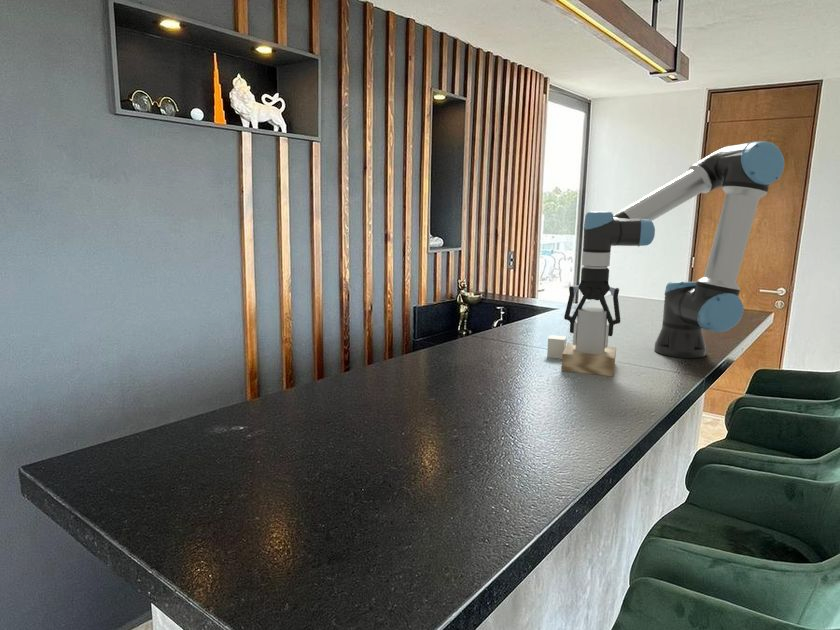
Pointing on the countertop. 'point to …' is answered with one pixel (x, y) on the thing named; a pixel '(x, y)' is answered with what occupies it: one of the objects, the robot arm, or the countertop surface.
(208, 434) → the countertop surface
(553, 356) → the cream block
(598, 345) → the grey cylinder
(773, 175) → the robot arm
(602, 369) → the oak block
